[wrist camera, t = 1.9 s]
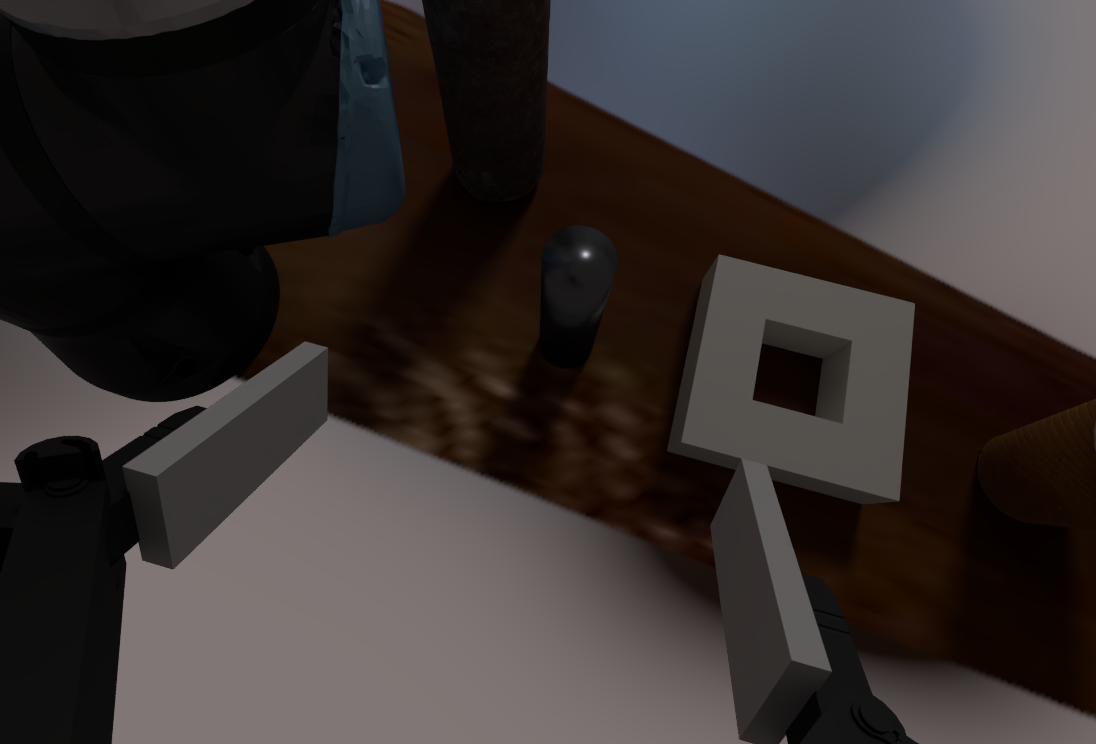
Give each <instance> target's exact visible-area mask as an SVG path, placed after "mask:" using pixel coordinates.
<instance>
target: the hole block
mask: <svg viewBox="0 0 1096 744" xmlns="http://www.w3.org/2000/svg"><path fill="white" fill-rule="evenodd" d="M914 309H915V303H911V302H907V301H903V300H899V299H895V298H891V297H887V296H883V295H879V294H875V293H871V292H867V291H863V290H859V289H855V288H851V287H847V286H843V285H839V284H835V283H831V282H827V281H823V280H819V279H815V278H811V277H807V276H803V275H799V274H795V273H791V272H787V271H783V270H779V269H775V268H771V267H767V266H763V265H759V264H755V263H751V262H747V261H743V260H739V259H735V258H731V257H727V256H723V255H718V257H717V258H716V260H715V261H714V263H713V264H712V266H711V267H710V269H709V270H708V272H707V273H706V275H705V277H704V278H703V280H702V284H701V289H700V294H699V299H698V303H697V308H696V313H695V318H694V323H693V328H692V332H691V337H690V342H689V347H688V352H687V356H686V361H685V366H684V371H683V376H682V381H681V385H680V390H679V395H678V400H677V405H676V410H675V414H674V419H673V424H672V429H671V434H670V438H669V443H668V448H667V451H668V452H671V453H675V454H679V455H682V456H686V457H690V458H693V459H697V460H701V461H704V462H708V463H712V464H715V465H719V466H723V467H727V468H730V469H734V470H736V469H737V467H738V465H739V463H740V461H741V458H742V459H745V460H749V461H753V462H757V463H760V464H764V465H767V467H768V470H769V474H770V477H771V480H774V481H778V482H782V483H785V484H789V485H793V486H797V487H800V488H804V489H808V490H811V491H815V492H819V493H822V494H826V495H830V496H833V497H837V498H841V499H844V500H848V501H852V502H855V503H859V504H872V503H883V502H894V501H899V497H900V485H901V472H902V459H903V447H904V434H905V422H906V409H907V397H908V384H909V371H910V359H911V346H912V334H913V321H914ZM762 343H763V344H767V345H771V346H775V347H779V348H783V349H787V350H790V351H794V352H798V353H802V354H806V355H810V356H814V357H818V358H822V359H823V360H822V367H821V375H820V383H819V390H818V398H817V406H816V414H815V416H811V415H807V414H803V413H800V412H796V411H792V410H788V409H784V408H781V407H777V406H773V405H769V404H766V403H762V402H758V401H754V400H752V399H753V393H754V387H755V381H756V375H757V369H758V363H759V357H760V350H761V344H762Z"/></svg>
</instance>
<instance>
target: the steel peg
mask: <svg viewBox="0 0 1096 744" xmlns="http://www.w3.org/2000/svg"><path fill="white" fill-rule="evenodd" d="M617 265H618V257H617V252H616V249H615V247H614V245H613V243H612V242H611V241H610V239H609V238H608V237H607V236H606V235H604V234H603V233H602V232H600V231H598V230H596V229H594V228H591V227H587V226H569V227H566V228H563V229H561V230H559V231H557V232H556V233H554V234H553V235H552V236H551V237H550V238H549V239H548V241H547V242H546V244H545V246H544V248H543V252H542V261H541V304H540V349H541V352H542V354H543V356H544V357H545V359H546V360H547V361H548V362H550V363H551V364H552V365H554V366H557V367H560V368H573V367H576V366H579V365H580V364H582V363H583V362H585V361H586V360H587V358H588V357H589V355H590V353H591V351H592V348H593V344H594V341H595V338H596V335H597V331H598V328H599V325H600V322H601V318H602V315H603V312H604V308H605V305H606V302H607V299H608V295H609V292H610V289H611V286H612V282H613V279H614V276H615V273H616V269H617Z"/></svg>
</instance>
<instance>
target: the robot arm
mask: <svg viewBox="0 0 1096 744" xmlns="http://www.w3.org/2000/svg"><path fill="white" fill-rule="evenodd" d="M404 197H405V178H404V170H403V161H402V153H401V146H400V138H399V130H398V123H397V115H396V108H395V101H394V94H393V87H392V80H391V73H390V66H389V59H388V51H387V44H386V38H385V31H384V24H383V18H382V11H381V4H380V0H0V320H3V321H5V322H8V323H11V324H13V325H16V326H18V327H21V328H23V329H26V330H28V331H30V332H31V333H32V334H33V335H34V336H36V337H37V338H38V339H39V340H40V341H41V342H42V343H43V344H44V345H45V346H46V347H47V348H48V349H49V350H51V351H52V352H53V353H54V354H55V355H56V356H57V357H58V358H59V359H60V360H61V361H62V362H63V363H64V364H65V365H66V366H67V367H68V368H70V369H71V370H72V371H73V372H74V373H75V374H77V375H78V376H79V377H81V378H82V379H84V380H85V381H87V382H89V383H90V384H93V385H94V386H96V387H99V388H101V389H103V390H106V391H109V392H112V393H115V394H118V395H121V396H124V397H127V398H130V399H135V400H141V401H148V402H167V401H176V400H181V399H186V398H189V397H193V396H196V395H199V394H202V393H204V392H206V391H209V390H211V389H213V388H215V387H217V386H218V385H220V384H222V383H224V382H225V381H227V380H228V379H230V378H231V377H233V376H234V375H235V374H237V373H238V372H239V371H240V370H241V369H243V368H244V367H245V366H246V365H247V364H248V363H249V362H250V361H251V360H252V358H253V357H254V356H255V355H256V354H257V352H258V351H259V350H260V348H261V347H262V346H263V344H264V343H265V341H266V339H267V337H268V336H269V334H270V332H271V329H272V327H273V325H274V322H275V319H276V316H277V312H278V306H279V298H280V287H279V279H278V274H277V271H276V268H275V265H274V263H273V260H272V258H271V257H270V255H269V253H268V252H267V250H266V249H265V247H264V245H271V244H278V243H284V242H291V241H297V240H304V239H311V238H317V237H324V236H328V237H333V236H337V235H339V233H340V232H341V231H346V230H350V229H354V228H359V227H363V226H367V225H372V224H376V223H380V222H384V221H386V220H387V219H389V218H390V217H392V216H393V215H394V214H395V213H396V212H397V211H398V210H399V209H400V207H401V205H402V203H403V200H404ZM327 396H328V348H327V347H324V346H320V345H316V344H312V343H309V342H304V343H302V344H301V345H299V346H298V347H296V348H295V349H293V350H292V351H290V352H289V353H288V354H286V355H285V356H283V357H282V358H280V359H279V360H277V361H276V362H274V363H273V364H271V365H270V366H269V367H267V368H266V369H264V370H263V371H261V372H260V373H258V374H257V375H255V376H254V377H252V378H251V379H250V380H248V381H247V382H245V383H244V384H242V385H241V386H239V387H238V388H236V389H235V390H233V391H232V392H231V393H229V394H228V395H226V396H225V397H223V398H222V399H221V400H219V401H217V402H216V403H215V404H213V405H211V406H210V407H209V408H204V407H200V406H195V407H192V408H189V409H186V410H183V411H180V412H177V413H175V414H173V415H172V416H170V417H168V418H167V419H165V420H164V421H162V422H161V423H159V424H158V426H157V427H153V428H151V429H150V430H149V431H147V432H145V433H144V435H143V436H139V437H138V438H136V439H134V440H133V441H131V442H130V443H128V444H127V445H125V446H124V447H122V448H121V449H119V450H118V451H116V452H114V453H113V454H111V455H110V456H108V457H107V458H105V459H104V460H102V459H101V454H100V450H99V447H98V443H97V442H95V441H94V440H92V439H90V438H86V437H81V436H61V437H57V438H51V439H46V440H44V441H41V442H39V443H36V444H33V445H31V446H29V447H28V448H26V449H25V450H23V451H22V452H20V453H19V455H18V456H17V458H16V459H15V460H14V462H15V465H16V467H17V471H18V474H19V477H20V480H21V483H7V482H5V483H4V482H0V744H111V743H112V732H113V720H114V708H115V695H116V683H117V671H118V659H119V647H120V635H121V623H122V610H123V599H124V587H125V574H126V560H125V557H124V554H125V553H126V552H127V551H128V550H130V549H131V548H132V547H133V546H134V545H135V544H137V543H138V542H139V547H140V551H141V556H142V560H143V561H146V562H150V563H153V564H156V565H160V566H163V567H166V568H170V569H174V568H175V567H176V566H177V565H178V564H179V563H180V562H181V561H182V560H184V558H186V557H187V556H188V555H189V554H190V553H191V552H192V551H193V550H194V549H195V548H196V546H198V545H199V544H200V543H201V542H202V541H203V540H204V539H205V538H206V537H207V536H208V535H209V534H210V533H211V532H212V531H213V530H214V529H215V528H216V527H218V526H219V525H220V524H221V523H222V522H223V520H225V519H226V518H227V517H228V516H229V515H230V514H231V513H232V512H233V511H234V510H235V509H236V508H237V507H238V506H239V505H240V504H241V503H242V502H243V501H244V500H245V499H246V498H247V497H248V496H249V495H250V494H251V493H253V491H255V490H256V489H257V487H259V486H260V485H261V484H262V483H263V482H264V481H265V480H266V479H267V478H268V477H269V476H270V475H271V474H272V473H273V472H274V471H275V470H276V469H277V468H278V467H279V466H280V465H281V464H282V463H283V462H284V461H285V460H286V459H287V458H289V457H290V456H291V455H292V454H293V453H294V452H295V451H296V450H297V449H298V448H299V447H300V446H301V445H302V444H303V443H304V442H305V441H306V440H307V439H308V438H309V437H310V436H311V435H312V434H313V433H314V432H315V431H316V430H317V429H318V428H319V427H320V426H322V425H323V424H324V422H326V421H327ZM710 528H711V535H712V542H713V550H714V557H715V564H716V572H717V579H718V587H719V594H720V601H721V608H722V616H723V623H724V631H725V638H726V645H727V653H728V660H729V667H730V675H731V682H732V690H733V697H734V704H735V712H736V719H737V726H738V734H739V739H740V740H743V741H746V742H750V743H753V744H779V743H780V742H781V740H782V739H783V738H784V737H785V735H786V736H787V741H788V744H918V743H917V742H915V741H914V740H912V739H911V738H909V737H908V736H906V733H905V729H904V727H903V726H902V724H901V723H900V721H899V720H898V718H897V716H896V715H895V714H894V713H893V712H892V711H891V710H890V709H889V708H888V707H887V706H886V705H885V704H884V703H883V702H882V701H880V700H879V699H878V698H876V697H875V696H873V695H872V692H871V689H870V686H869V684H868V681H867V679H866V676H865V673H864V670H863V668H862V665H861V662H860V660H859V657H858V654H857V651H856V649H855V646H854V643H853V641H852V638H851V637H850V636H849V630H848V627H847V625H846V622H845V621H844V620H843V618H844V616H843V614H842V611H841V608H840V606H839V603H838V600H837V598H836V596H835V595H834V594H833V593H832V591H831V590H830V589H829V587H828V586H827V585H826V583H825V582H824V581H823V579H821V578H817V577H814V576H810V575H807V574H803V573H801V572H800V569H799V566H798V563H797V559H796V556H795V553H794V550H793V547H792V544H791V540H790V537H789V534H788V531H787V528H786V524H785V521H784V518H783V515H782V512H781V509H780V505H779V502H778V499H777V496H776V493H775V490H774V486H773V483H772V480H771V477H770V474H769V470H768V467H767V465H764V464H760V463H757V462H753V461H749V460H745V459H742V458H741V461H740V463H739V465H738V467H737V469H736V471H735V473H734V476H733V478H732V480H731V482H730V484H729V486H728V489H727V491H726V493H725V495H724V497H723V499H722V502H721V504H720V506H719V508H718V510H717V512H716V515H715V517H714V519H713V521H712V523H711V525H710Z"/></svg>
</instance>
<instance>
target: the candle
mask: <svg viewBox="0 0 1096 744" xmlns="http://www.w3.org/2000/svg"><path fill="white" fill-rule="evenodd" d="M422 2H423V8H424V14H425V19H426V24H427V29H428V34H429V39H430V44H431V48H432V53H433V58H434V63H435V68H436V73H437V78H438V84H439V90H440V95H441V100H442V106H443V112H444V118H445V123H446V128H447V134H448V139H449V145H450V151H451V155H452V160H453V166H454V169H455V173H456V175H457V177H458V179H459V181H460V183H461V184H462V185H463V186H464V187H465V189H466V190H467V191H468V192H469V193H470V194H471V195H472V196H474V197H475V198H477V199H479V200H484V201H487V202H500V201H509V200H514V199H518V198H520V197H523V196H526V195H527V194H528V193H529V192H531V190H532V189H533V188H534V187H535V186H536V185H537V183H538V181H539V179H540V178H541V176H542V174H543V169H544V157H545V136H546V104H547V71H548V42H549V39H548V38H549V19H550V0H422Z"/></svg>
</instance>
